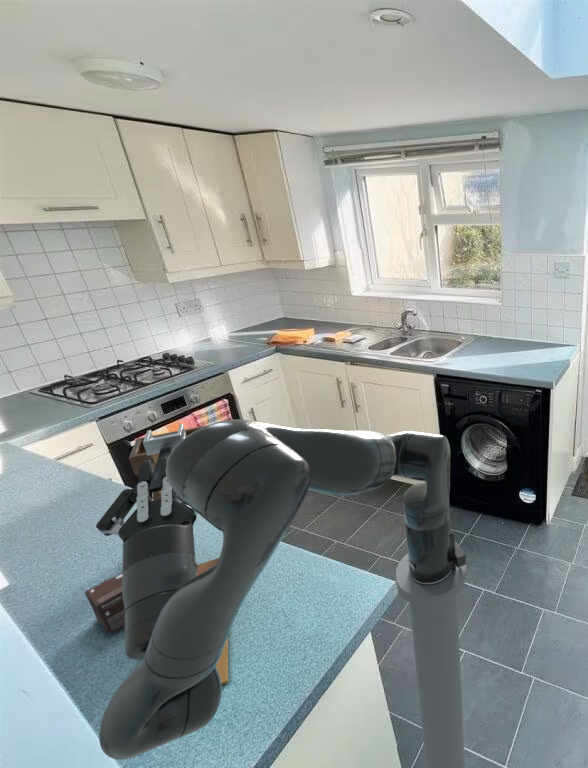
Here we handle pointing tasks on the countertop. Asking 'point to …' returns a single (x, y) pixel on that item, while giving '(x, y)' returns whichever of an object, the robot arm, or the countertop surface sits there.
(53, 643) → the countertop surface
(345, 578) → the countertop surface
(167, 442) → the scoop
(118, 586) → the box
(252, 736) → the countertop surface
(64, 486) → the countertop surface
